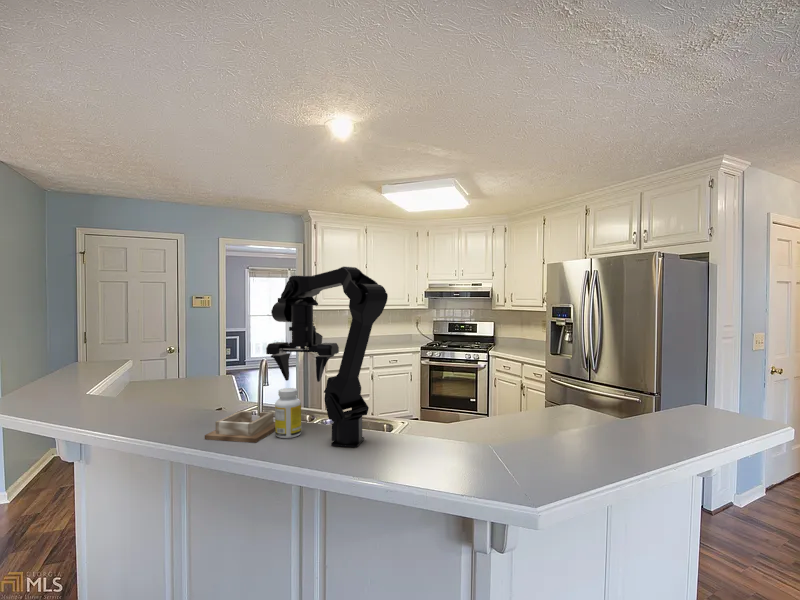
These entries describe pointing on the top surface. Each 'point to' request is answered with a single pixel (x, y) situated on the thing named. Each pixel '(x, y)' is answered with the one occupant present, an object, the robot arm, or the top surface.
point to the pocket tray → (243, 427)
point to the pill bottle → (287, 414)
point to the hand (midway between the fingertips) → (302, 380)
